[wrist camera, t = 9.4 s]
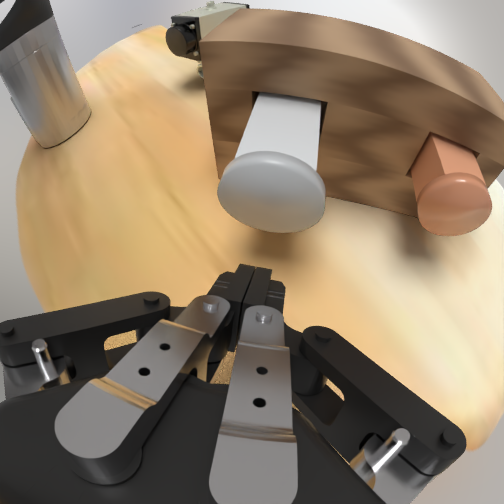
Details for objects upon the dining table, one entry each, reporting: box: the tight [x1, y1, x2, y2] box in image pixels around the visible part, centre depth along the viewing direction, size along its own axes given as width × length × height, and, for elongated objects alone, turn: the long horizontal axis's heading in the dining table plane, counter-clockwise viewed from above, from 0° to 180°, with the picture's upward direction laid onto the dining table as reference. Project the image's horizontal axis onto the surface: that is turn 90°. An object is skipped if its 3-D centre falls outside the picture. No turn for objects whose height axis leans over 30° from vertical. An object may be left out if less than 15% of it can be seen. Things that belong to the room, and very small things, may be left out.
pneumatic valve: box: [166, 1, 249, 78], centre depth 28 cm, size 6×12×12 cm, turn 138°
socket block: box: [199, 8, 504, 218], centre depth 19 cm, size 23×10×13 cm, turn 78°
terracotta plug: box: [410, 132, 492, 236], centre depth 16 cm, size 6×11×6 cm, turn 168°
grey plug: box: [217, 92, 326, 233], centre depth 17 cm, size 6×11×6 cm, turn 168°
